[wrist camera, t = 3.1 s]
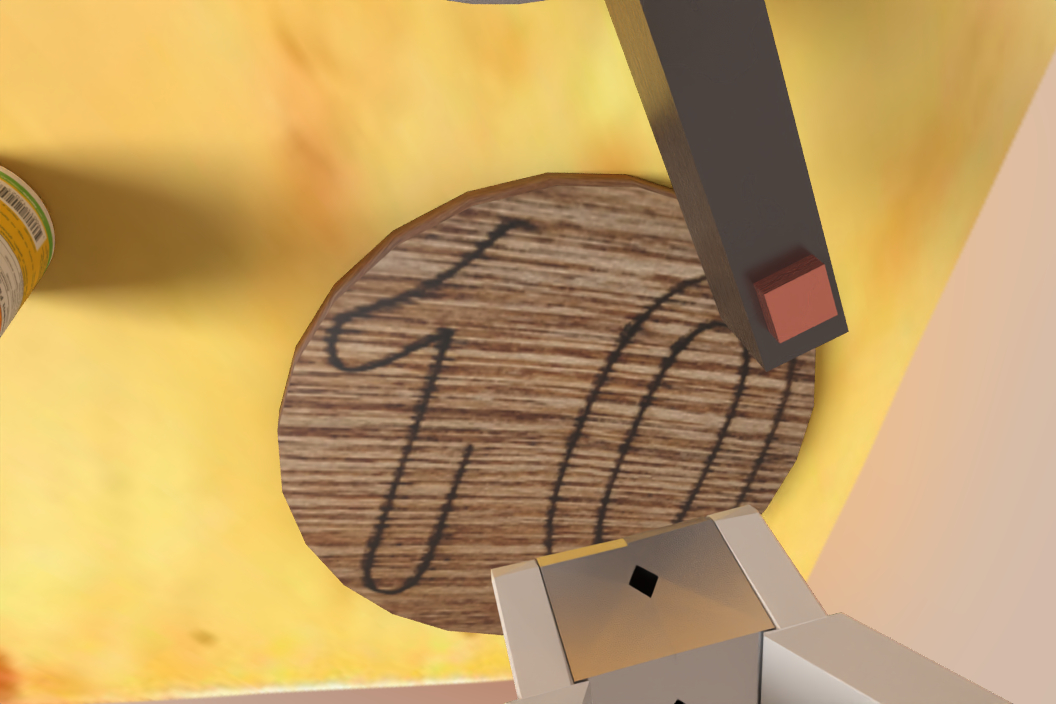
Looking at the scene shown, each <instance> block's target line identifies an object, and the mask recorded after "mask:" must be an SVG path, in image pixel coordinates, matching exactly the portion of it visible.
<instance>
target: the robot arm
mask: <svg viewBox="0 0 1056 704" xmlns="http://www.w3.org/2000/svg"><path fill="white" fill-rule="evenodd" d="M491 578H492V585H493V589H494V594H495V598H496V602H497V607H498V611H499V616H500V620H501V625H502V629H503V634H504V638H505V643H506V647H507V652H508V656H509V661H510V665H511V669H512V674H513V678H514V683H515V687H516V691H517V696H518V699H517V700H513V701H510V702H507V703H504V704H1013V703H1011V702H1009V701H1007V700H1005V699H1003V698H1002V697H1000V696H998V695H996V694H994V693H992V692H990V691H988V690H987V689H985V688H983V687H981V686H979V685H977V684H975V683H973V682H971V681H969V680H968V679H966V678H964V677H962V676H960V675H958V674H957V673H955V672H953V671H951V670H949V669H947V668H945V667H943V666H941V665H940V664H938V663H936V662H934V661H932V660H930V659H928V658H927V657H925V656H923V655H921V654H919V653H917V652H915V651H913V650H912V649H910V648H908V647H906V646H904V645H902V644H900V643H898V642H897V641H895V640H893V639H891V638H889V637H887V636H885V635H883V634H882V633H880V632H878V631H876V630H874V629H872V628H870V627H868V626H867V625H865V624H863V623H861V622H859V621H857V620H855V619H853V618H852V617H850V616H848V615H846V614H844V613H842V612H841V613H836V614H832V615H828V614H827V613H826V611H825V610H824V609H823V607H822V606H821V604H820V602H819V601H818V600H817V598H816V597H815V595H814V593H813V592H812V591H811V589H810V588H809V586H808V585H807V583H806V582H805V580H804V579H803V577H802V576H801V574H800V573H799V571H798V570H797V568H796V567H795V565H794V564H793V562H792V561H791V559H790V558H789V556H788V555H787V553H786V552H785V550H784V549H783V547H782V546H781V544H780V543H779V541H778V540H777V538H776V537H775V535H774V534H773V533H772V531H771V530H770V528H769V527H768V525H767V524H766V522H765V521H764V519H763V518H762V516H761V515H760V513H759V512H758V510H757V509H755V508H754V507H752V506H751V505H745V506H741V507H738V508H734V509H730V510H726V511H722V512H718V513H714V514H711V515H707V516H706V517H703V516H702V517H698V518H694V519H691V520H687V521H683V522H679V523H675V524H672V525H668V526H664V527H660V528H656V529H653V530H649V531H645V532H641V533H637V534H634V535H630V536H626V537H622V538H621V539H618V540H614V541H609V542H605V543H600V544H596V545H592V546H587V547H583V548H578V549H574V550H569V551H565V552H561V553H556V554H552V555H547V556H543V557H538V558H536V561H535V559H533V560H529V561H524V562H520V563H516V564H511V565H507V566H502V567H498V568H493V569H491Z"/></svg>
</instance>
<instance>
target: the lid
mask: <svg viewBox="0 0 1056 704" xmlns="http://www.w3.org/2000/svg"><path fill="white" fill-rule="evenodd" d="M449 1H456V2H462V3H469V4H523V3H530V2H537V1H544V0H449ZM605 3H606V5H607V8H608V11H609V14H610V16H611V19H612V22H613V24H614V27H615V30H616V33H617V35H618V38H619V41H620V44H621V46H622V49H623V52H624V55H625V57H626V60H627V63H628V66H629V68H630V71H631V74H632V76H633V79H634V82H635V85H636V87H637V90H638V93H639V96H640V98H641V101H642V104H643V107H644V109H645V112H646V115H647V117H648V120H649V123H650V126H651V128H652V131H653V134H654V137H655V139H656V142H657V145H658V148H659V150H660V153H661V156H662V159H663V161H664V164H665V167H666V169H667V172H668V175H669V178H670V180H671V183H672V186H673V189H674V191H675V194H676V197H677V200H678V202H679V205H680V208H681V210H682V213H683V216H684V219H685V221H686V224H687V227H688V230H689V232H690V235H691V238H692V241H693V243H694V246H695V249H696V252H697V254H698V257H699V260H700V262H701V265H702V268H703V271H704V273H705V276H706V279H707V282H708V284H709V287H710V290H711V293H712V295H713V298H714V301H715V303H716V306H717V309H718V312H719V314H720V317H721V319H722V320H723V322H724V323H725V324H726V325H727V326H728V328H729V329H730V330H731V331H732V332H733V333H734V335H735V336H736V337H737V338H738V339H739V340H740V342H741V343H742V344H743V345H744V346H745V348H746V349H747V350H748V351H749V352H750V353H751V355H752V356H753V357H754V358H755V359H756V361H757V362H758V363H759V364H760V365H761V366H762V368H763V369H764V370H765V371H766V372H768V371H770V370H772V369H774V368H776V367H778V366H780V365H782V364H784V363H786V362H788V361H790V360H792V359H794V358H796V357H798V356H800V355H802V354H804V353H806V352H808V351H810V350H812V349H814V348H816V347H818V346H820V345H822V344H824V343H826V342H828V341H830V340H832V339H835V338H837V337H839V336H841V335H843V334H845V333H847V332H849V331H848V327H847V324H846V320H845V316H844V312H843V308H842V304H841V300H840V296H839V292H838V288H837V284H836V280H835V276H834V272H833V269H832V265H831V261H830V257H829V253H828V249H827V245H826V241H825V237H824V233H823V229H822V225H821V221H820V217H819V214H818V210H817V206H816V202H815V198H814V194H813V190H812V186H811V182H810V178H809V174H808V170H807V166H806V162H805V159H804V155H803V151H802V147H801V143H800V139H799V135H798V131H797V127H796V123H795V119H794V115H793V111H792V107H791V104H790V100H789V96H788V92H787V88H786V84H785V80H784V76H783V72H782V68H781V64H780V60H779V56H778V53H777V49H776V45H775V41H774V37H773V33H772V29H771V25H770V21H769V17H768V13H767V9H766V5H765V1H764V0H605Z"/></svg>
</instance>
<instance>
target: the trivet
mask: <svg viewBox="0 0 1056 704" xmlns="http://www.w3.org/2000/svg"><path fill="white" fill-rule="evenodd" d="M815 352H816V350H815V348H814V349H812V350H810V351H808V352H806V353H804V354H802V355H800V356H798V357H796V358H794V359H792V360H790V361H788V362H786V363H784V364H782V365H780V366H778V367H776V368H774V369H772V370H770V371H768V372H766V371H765V370H764V369H763V368H762V366H761V365H760V364H759V363H758V362H757V361H756V359H755V358H754V357H753V356H752V355H751V353H750V352H749V351H748V350H747V349H746V348H745V346H744V345H743V344H742V343H741V342H740V340H739V339H738V338H737V337H736V336H735V335H734V333H733V332H732V331H731V330H730V329H729V328H728V326H727V325H726V324H725V323H724V322H723V320H722V319H721V317H720V314H719V312H718V309H717V306H716V303H715V301H714V298H713V295H712V293H711V290H710V287H709V284H708V282H707V279H706V276H705V273H704V271H703V268H702V265H701V262H700V260H699V257H698V254H697V252H696V249H695V246H694V243H693V241H692V238H691V235H690V232H689V230H688V227H687V224H686V221H685V219H684V216H683V213H682V210H681V208H680V205H679V202H678V200H677V197H676V194H675V191H674V189H671V188H668V187H665V186H662V185H658V184H655V183H652V182H649V181H646V180H642V179H639V178H636V177H633V176H629V175H626V174H584V173H544V174H540V175H536V176H531V177H527V178H523V179H519V180H515V181H511V182H506V183H502V184H498V185H494V186H490V187H485V188H481V189H477V190H473V191H469V192H466V193H464V194H462V195H460V196H458V197H456V198H454V199H452V200H451V201H449V202H447V203H445V204H443V205H441V206H439V207H437V208H435V209H433V210H432V211H430V212H428V213H426V214H424V215H422V216H420V217H418V218H416V219H414V220H413V221H411V222H409V223H407V224H405V225H403V226H401V227H399V228H397V229H395V230H394V231H392V232H391V233H390V234H389V235H388V236H387V237H386V238H385V239H383V240H382V241H381V242H380V243H379V244H378V245H377V246H376V247H375V248H374V249H373V250H371V251H370V252H369V253H368V254H367V255H366V256H365V257H364V258H363V259H362V260H360V261H359V262H358V263H357V264H356V265H355V266H354V267H353V268H352V269H351V270H350V271H348V272H347V273H346V274H345V275H344V276H343V277H342V278H341V279H340V280H339V281H337V282H336V283H335V284H334V286H333V287H332V289H331V291H330V292H329V294H328V295H327V297H326V299H325V300H324V302H323V304H322V305H321V307H320V308H319V310H318V312H317V313H316V315H315V316H314V318H313V320H312V321H311V323H310V324H309V326H308V328H307V329H306V331H305V333H304V334H303V336H302V337H301V339H300V341H299V342H298V344H297V345H296V348H295V352H294V356H293V360H292V364H291V367H290V371H289V375H288V379H287V383H286V387H285V391H284V395H283V399H282V402H281V406H280V410H279V421H278V443H279V455H280V467H281V480H282V492H283V494H284V496H285V499H286V501H287V503H288V505H289V507H290V510H291V512H292V514H293V516H294V519H295V521H296V523H297V525H298V527H299V530H300V532H301V534H302V536H303V538H304V541H305V543H306V545H307V546H308V547H309V548H310V549H311V550H312V551H313V552H314V553H315V554H316V555H317V556H318V557H319V559H320V560H321V561H322V562H323V563H324V564H325V565H326V566H327V567H328V568H329V569H330V570H331V571H332V573H333V574H334V575H335V576H336V577H337V578H338V579H339V580H340V581H341V582H342V583H343V584H344V585H345V586H346V587H348V588H350V589H352V590H353V591H355V592H357V593H358V594H360V595H362V596H363V597H365V598H367V599H368V600H370V601H372V602H373V603H375V604H377V605H378V606H380V607H382V608H383V609H385V610H387V611H388V612H390V613H392V614H394V615H398V616H401V617H404V618H408V619H411V620H414V621H418V622H421V623H424V624H428V625H431V626H434V627H437V628H441V629H444V630H447V631H459V632H471V633H483V634H495V635H504V634H503V629H502V625H501V620H500V616H499V611H498V607H497V602H496V598H495V594H494V589H493V585H492V578H491V569H493V568H498V567H502V566H507V565H511V564H516V563H520V562H524V561H529V560H533V559H535V561H536V558H538V557H543V556H547V555H552V554H556V553H561V552H565V551H569V550H574V549H578V548H583V547H587V546H592V545H596V544H600V543H605V542H609V541H614V540H618V539H621V538H622V537H626V536H630V535H634V534H637V533H641V532H645V531H649V530H653V529H656V528H660V527H664V526H668V525H672V524H675V523H679V522H683V521H687V520H691V519H694V518H698V517H702V516H703V517H706V516H707V515H711V514H714V513H718V512H722V511H726V510H730V509H734V508H738V507H741V506H745V505H751V506H752V507H754V508H755V509H757V510H758V512H759V513H760V515H761V514H762V513H763V512H764V511H765V510H766V508H767V507H768V505H769V503H770V502H771V500H772V499H773V497H774V495H775V494H776V492H777V490H778V489H779V487H780V486H781V484H782V482H783V481H784V479H785V477H786V476H787V474H788V473H789V471H790V469H791V468H792V466H793V464H794V463H795V461H796V459H797V456H798V453H799V450H800V447H801V444H802V441H803V438H804V435H805V432H806V428H807V425H808V422H809V419H810V416H811V413H812V410H813V407H814V382H815Z"/></svg>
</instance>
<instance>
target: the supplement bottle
mask: <svg viewBox="0 0 1056 704" xmlns="http://www.w3.org/2000/svg"><path fill="white" fill-rule="evenodd" d="M54 247H55V234H54V228H53V224H52V221H51V218H50V215H49V213H48V211H47V209H46V207H45V205H44V204H43V202H42V201H41V199H40V198H39V196H38V195H37V194H36V193H35V192H34V191H33V189H32V188H31V187H30V186H29V185H28V184H26V183H25V182H24V181H23V180H22V179H21V178H19V177H18V176H17V175H16V174H14V173H13V172H11V171H9V170H8V169H6V168H4V167H2V166H0V337H1V336H2V334H3V333H4V332H5V330H6V329H7V327H8V326H9V324H10V323H11V321H12V320H13V318H14V317H15V315H16V314H17V312H18V311H19V309H20V308H21V307H22V305H23V304H24V302H25V301H26V299H27V298H28V296H29V295H30V293H31V292H32V291H33V289H34V288H35V286H36V285H37V283H38V282H39V280H40V279H41V277H42V276H43V274H44V273H45V271H46V269H47V267H48V265H49V264H50V261H51V259H52V256H53V252H54Z"/></svg>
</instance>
